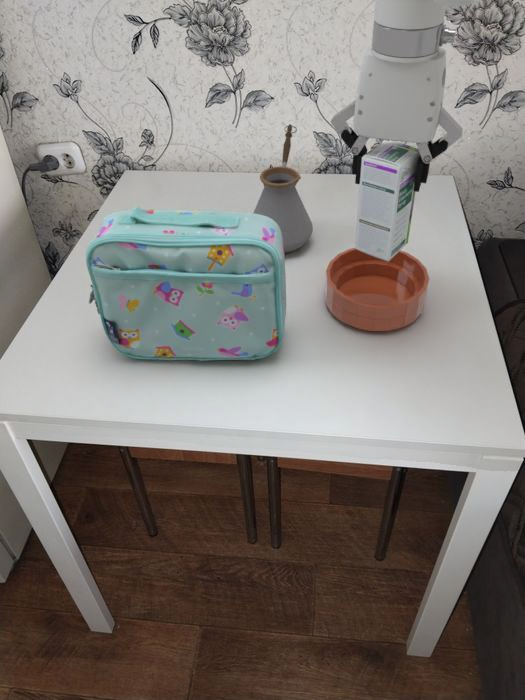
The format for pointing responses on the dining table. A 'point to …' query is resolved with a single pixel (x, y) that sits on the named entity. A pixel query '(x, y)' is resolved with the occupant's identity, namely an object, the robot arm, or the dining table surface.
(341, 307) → the bowl
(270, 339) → the lunch box
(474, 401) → the dining table surface
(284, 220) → the coffee pot
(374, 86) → the robot arm
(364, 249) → the syrup box
